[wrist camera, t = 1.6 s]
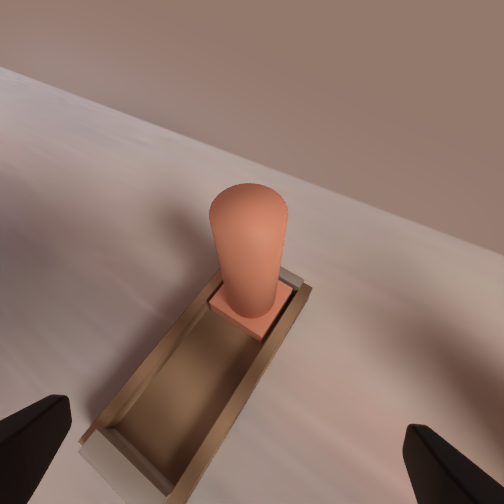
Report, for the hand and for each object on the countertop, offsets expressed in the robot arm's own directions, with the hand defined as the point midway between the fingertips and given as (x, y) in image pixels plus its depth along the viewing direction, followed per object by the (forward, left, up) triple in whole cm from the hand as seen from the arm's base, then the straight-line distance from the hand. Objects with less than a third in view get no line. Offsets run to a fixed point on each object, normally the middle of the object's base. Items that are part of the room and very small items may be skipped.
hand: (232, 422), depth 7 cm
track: (0, +5, -14) cm, 15 cm away
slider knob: (+4, +7, -13) cm, 15 cm away
